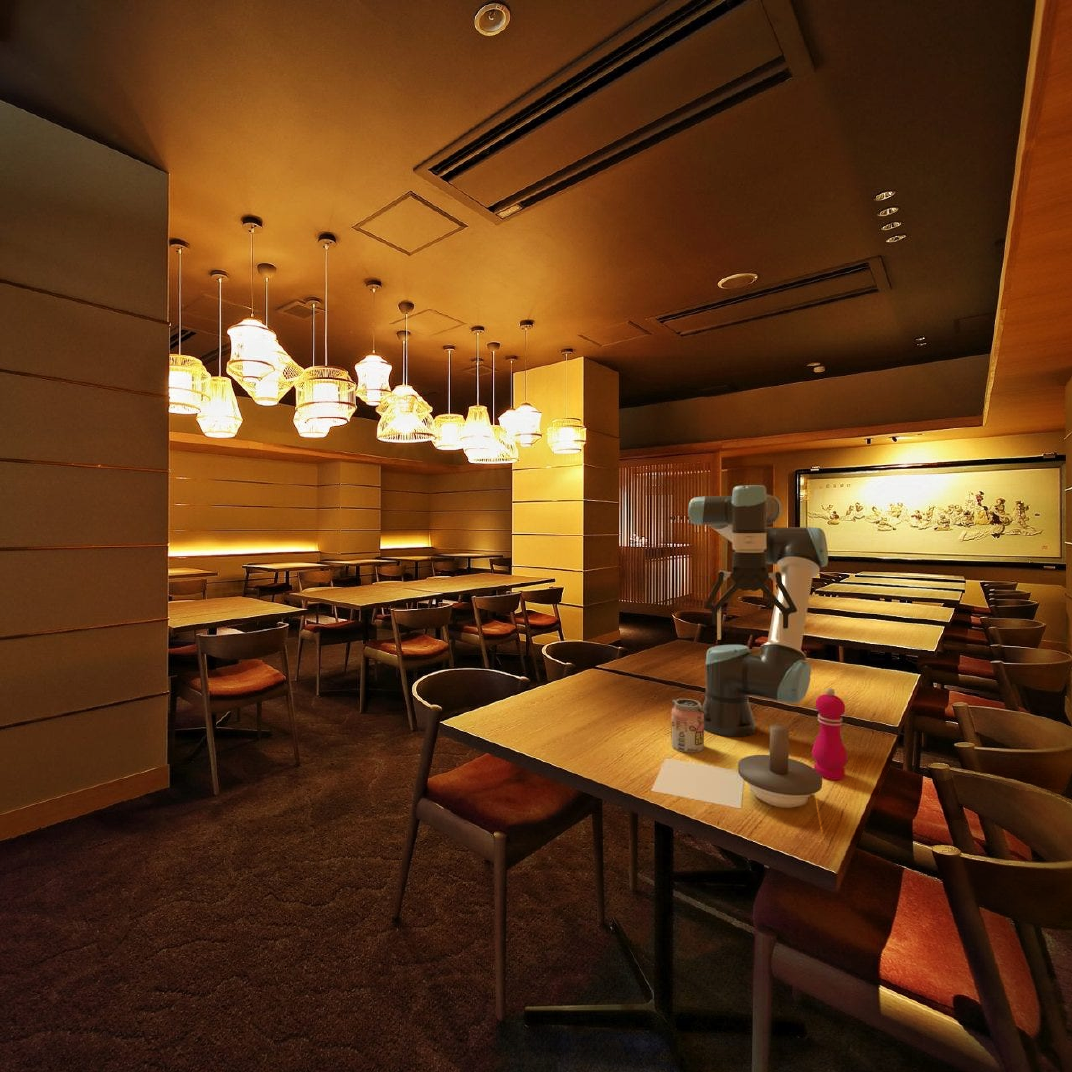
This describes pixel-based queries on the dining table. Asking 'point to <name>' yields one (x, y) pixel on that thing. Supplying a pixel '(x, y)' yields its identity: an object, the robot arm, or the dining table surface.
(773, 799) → the bowl
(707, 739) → the dining table surface
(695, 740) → the beverage can
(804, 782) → the lid
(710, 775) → the mat
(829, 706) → the pepper mill
